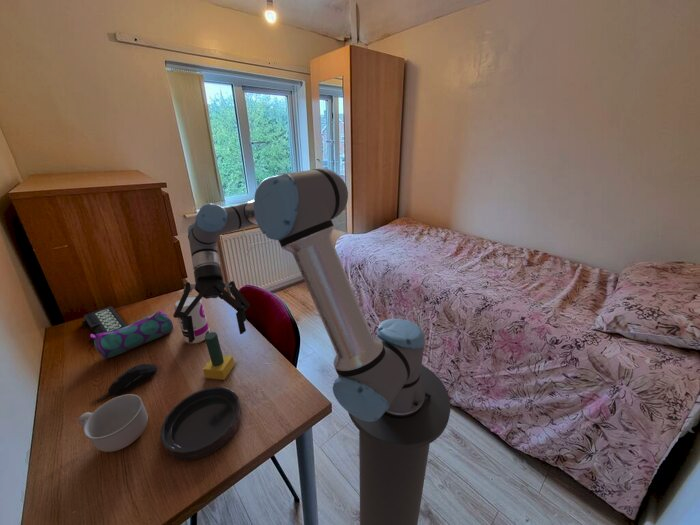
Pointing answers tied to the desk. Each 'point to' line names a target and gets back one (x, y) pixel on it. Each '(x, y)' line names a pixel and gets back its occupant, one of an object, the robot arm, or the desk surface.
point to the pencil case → (132, 335)
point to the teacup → (115, 423)
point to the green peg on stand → (217, 359)
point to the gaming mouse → (131, 379)
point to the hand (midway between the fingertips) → (218, 336)
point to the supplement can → (195, 320)
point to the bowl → (201, 423)
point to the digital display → (103, 321)
